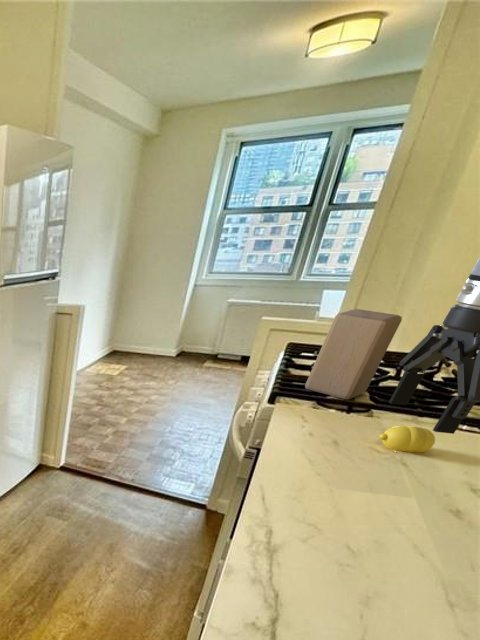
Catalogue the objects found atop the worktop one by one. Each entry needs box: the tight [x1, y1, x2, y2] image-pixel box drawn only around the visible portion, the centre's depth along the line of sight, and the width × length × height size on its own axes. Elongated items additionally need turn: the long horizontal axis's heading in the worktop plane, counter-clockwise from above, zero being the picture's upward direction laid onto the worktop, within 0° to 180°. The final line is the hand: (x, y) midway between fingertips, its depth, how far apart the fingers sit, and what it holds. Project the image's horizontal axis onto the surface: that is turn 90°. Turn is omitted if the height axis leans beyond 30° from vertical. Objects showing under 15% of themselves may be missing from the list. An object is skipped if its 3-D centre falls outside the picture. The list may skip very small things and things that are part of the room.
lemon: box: [379, 425, 436, 454], centre depth 97 cm, size 8×5×5 cm, turn 73°
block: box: [304, 308, 403, 401], centre depth 121 cm, size 10×10×20 cm
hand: (418, 417), depth 95 cm, fingers open, 13 cm apart
